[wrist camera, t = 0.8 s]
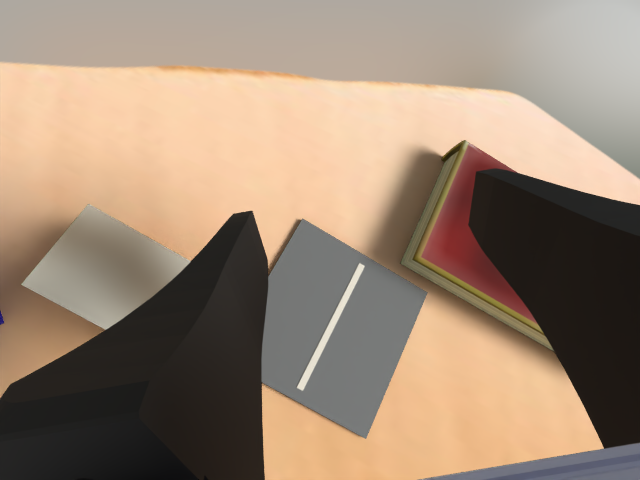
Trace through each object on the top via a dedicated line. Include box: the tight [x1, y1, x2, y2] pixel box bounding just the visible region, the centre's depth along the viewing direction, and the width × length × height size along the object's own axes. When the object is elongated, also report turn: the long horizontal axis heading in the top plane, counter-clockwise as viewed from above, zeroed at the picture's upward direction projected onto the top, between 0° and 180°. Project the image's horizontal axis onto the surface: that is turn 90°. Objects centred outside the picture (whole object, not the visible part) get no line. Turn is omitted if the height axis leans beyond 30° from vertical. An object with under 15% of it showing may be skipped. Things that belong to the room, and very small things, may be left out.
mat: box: [262, 219, 428, 439], centre depth 25 cm, size 12×12×1 cm
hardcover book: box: [400, 140, 554, 351], centre depth 29 cm, size 12×21×4 cm, turn 63°
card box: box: [21, 204, 191, 330], centre depth 21 cm, size 5×9×6 cm, turn 62°
